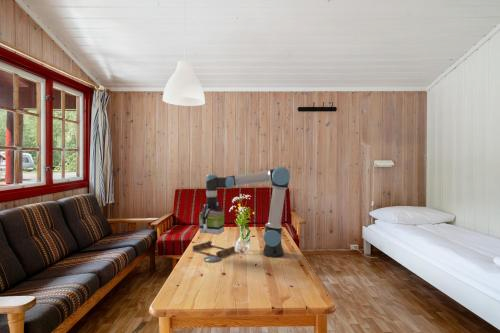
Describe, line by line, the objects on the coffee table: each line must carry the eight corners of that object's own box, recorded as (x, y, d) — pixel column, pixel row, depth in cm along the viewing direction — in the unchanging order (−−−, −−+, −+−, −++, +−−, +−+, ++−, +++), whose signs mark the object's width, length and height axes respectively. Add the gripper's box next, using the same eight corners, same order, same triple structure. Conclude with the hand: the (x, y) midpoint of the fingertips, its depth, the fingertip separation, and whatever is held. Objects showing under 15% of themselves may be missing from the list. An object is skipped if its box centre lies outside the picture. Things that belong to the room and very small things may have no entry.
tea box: (199, 233, 217) (198, 212, 217) (205, 230, 227) (205, 210, 227) (218, 234, 213) (218, 213, 212) (224, 231, 222) (224, 210, 222)
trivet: (212, 255, 226) (212, 254, 226) (224, 259, 218) (224, 257, 218) (200, 260, 216) (200, 259, 216) (212, 263, 209) (212, 262, 209)
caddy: (209, 245, 252) (209, 241, 252) (234, 251, 235) (234, 246, 235) (192, 251, 238) (192, 245, 238) (217, 257, 221) (217, 252, 221)
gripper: (220, 194, 231) (220, 223, 231) (194, 197, 212) (195, 229, 213) (227, 195, 226) (227, 224, 226) (202, 198, 208) (202, 230, 208)
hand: (212, 227), depth 220 cm, fingers closed on tea box, 12 cm apart
